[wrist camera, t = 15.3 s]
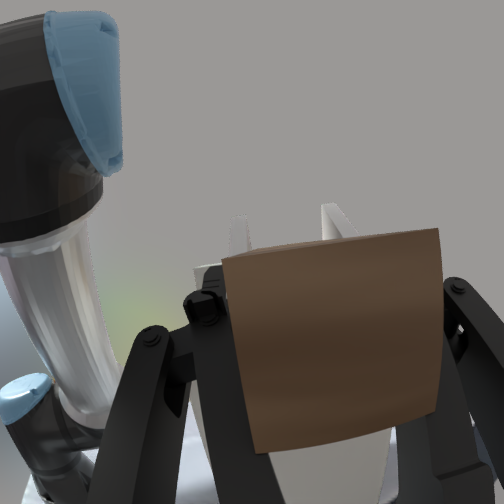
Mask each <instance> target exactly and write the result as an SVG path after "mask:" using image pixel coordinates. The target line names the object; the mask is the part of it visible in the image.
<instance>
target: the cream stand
mask: <svg viewBox="0 0 504 504" xmlns="http://www.w3.org/2000/svg"><path fill="white" fill-rule="evenodd" d="M189 397H190V401H191V405H192V408H193V412H194V415H195V419H196V422H197V426H198V429H199V432H200V436H201V439H202V442H203V445H204V448H205V452H206V455H207V458H208V461H209V464H210V467H211V462H210V457H209V452H208V447H207V441H206V436H205V430H204V425H203V419H202V413H201V406H200V400H199V393H198V386H197V380H194V381H192V384H191V390H190V396H189ZM391 430H392V427H391V428H388V429H385V430H382V431H378V432H375V433H371V434H368V435H364V436H360V437H356V438H352V439H348V440H344V441H339V442H335V443H330V444H325V445H320V446H314V447H308V448H302V449H295V450H288V451H280V452H271V453H269V456H270V459H271V462H272V465H273V468H274V471H275V474H276V477H277V480H278V483H279V486H280V488H281V491H282V494H283V497H284V500H285V503H286V504H378V501H379V497H380V492H381V488H382V483H383V479H384V474H385V469H386V463H387V457H388V451H389V445H390V438H391ZM211 469H212V467H211Z"/></svg>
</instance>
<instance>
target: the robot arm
mask: <svg viewBox="0 0 504 504" xmlns="http://www.w3.org/2000/svg"><path fill="white" fill-rule="evenodd" d="M122 153H123V152H122V121H121V97H120V59H119V33H118V27H117V24H116V22H115V20H114V19H113V18H112V17H111V16H110V15H108V14H107V13H105V12H101V11H72V12H58V13H57V12H55V11H48V12H46V13H45V14H41V15H35V16H31V17H27V18H22V19H18V20H15V21H11V22H8V23H4V24H1V25H0V273H1V276H2V278H3V281H4V283H5V286H6V288H7V291H8V293H9V296H10V298H11V300H12V303H13V305H14V307H15V309H16V311H17V313H18V315H19V318H20V320H21V322H22V324H23V326H24V328H25V330H26V332H27V334H28V336H29V338H30V339H31V341H32V343H33V345H34V347H35V348H36V350H37V352H38V354H39V355H40V357H41V359H42V360H43V362H44V364H45V365H46V367H47V369H48V370H49V372H50V373H51V375H52V376H53V378H54V379H55V381H56V382H57V383H56V384H52V380H51V379H50V378H49V376H48V375H47V374H44V373H43V374H41V373H34V374H29V375H26V376H23V377H20V378H18V379H15V380H14V381H12V382H10V383H8V384H7V385H5V386H4V387H3V388H2V389H1V390H0V416H1V418H2V422H3V424H4V425H5V427H6V429H7V430H8V432H9V434H10V436H11V438H12V440H13V442H14V443H15V445H16V447H17V449H18V450H19V452H20V454H21V456H22V457H23V459H24V460H25V462H26V464H27V465H28V467H29V468H30V470H31V474H32V477H33V480H34V483H35V486H36V489H37V492H38V494H39V496H40V497H41V498H42V500H43V501H44V502H45V504H175V498H176V490H177V481H178V473H179V465H180V458H181V450H182V443H183V436H184V429H185V422H186V415H187V409H188V402H189V396H190V390H191V384H192V381H194V380H197V386H198V393H199V400H200V406H201V413H202V419H203V425H204V430H205V436H206V441H207V447H208V452H209V457H210V462H211V467H212V472H213V476H214V481H215V485H216V490H217V494H218V498H219V503H220V504H286V503H285V500H284V497H283V494H282V491H281V488H280V486H279V483H278V480H277V477H276V474H275V471H274V468H273V465H272V462H271V459H270V456H269V453H260V454H256V453H255V448H254V444H253V439H252V434H251V429H250V424H249V419H248V414H247V408H246V403H245V398H244V393H243V387H242V382H241V376H240V371H239V365H238V360H237V354H236V348H235V342H234V336H233V330H232V324H231V318H230V312H229V306H228V300H227V293H226V287H225V280H224V273H223V267H222V265H217V266H210V267H209V268H208V269H207V271H206V272H205V273H204V277H203V283H202V289H199V290H197V291H194V292H192V293H191V294H189V295H188V296H187V297H186V299H185V300H184V303H183V307H184V310H185V313H186V315H187V318H188V320H189V324H188V325H186V326H185V327H182V328H180V329H177V330H174V331H171V332H168V330H167V328H165V327H163V326H159V325H154V326H149V327H147V328H145V329H143V330H142V331H141V332H140V333H139V334H138V335H137V336H136V338H135V340H134V343H133V346H132V348H131V351H130V354H129V356H128V359H127V362H126V365H125V368H124V367H123V366H122V365H120V364H119V363H117V362H116V360H115V357H114V353H113V350H112V347H111V343H110V340H109V336H108V333H107V329H106V325H105V321H104V318H103V313H102V309H101V306H100V300H99V296H98V291H97V286H96V281H95V276H94V271H93V265H92V259H91V253H90V246H89V239H88V232H87V223H86V219H87V218H88V217H89V216H90V215H91V214H92V213H93V212H94V211H95V210H96V208H97V207H98V206H99V204H100V202H101V201H102V198H103V176H104V177H109V176H111V175H112V174H113V173H115V172H118V171H119V170H121V168H122V166H123V154H122ZM321 208H322V209H321V210H322V239H323V240H331V239H340V238H349V237H358V236H360V235H359V233H358V232H357V231H356V230H355V228H354V227H353V225H352V224H351V223H350V221H349V220H348V219H347V217H346V216H345V215H344V214H343V212H342V211H341V210H340V209H339V208H338V206H337V205H336V204H335V203H328V204H321ZM248 251H252V249H251V243H250V237H249V231H248V225H247V219H246V215H239V216H233V217H231V228H230V242H229V257H231V256H234V255H238V254H241V253H245V252H248ZM443 298H444V321H443V347H442V360H441V371H440V380H439V388H438V395H437V402H436V408H435V412H432V413H430V414H427V415H425V416H422V417H420V418H417V419H414V420H412V421H409V422H406V423H403V424H400V425H397V426H395V428H396V439H397V454H398V477H399V493H398V497H397V499H396V502H395V504H495V494H494V482H493V475H492V471H491V468H490V467H489V466H488V464H486V463H483V462H481V461H480V460H479V458H478V455H477V448H476V443H475V437H474V432H473V427H472V422H471V418H470V414H471V416H472V418H473V420H474V422H475V424H476V426H477V429H478V431H479V433H480V435H481V437H482V440H483V442H484V444H485V446H486V449H487V451H488V453H489V456H490V458H491V461H492V463H493V466H494V468H495V471H496V474H497V476H498V479H499V481H500V483H501V485H502V487H503V489H504V323H503V322H502V321H501V319H500V318H499V317H498V316H497V315H496V313H495V312H494V311H493V310H492V308H491V307H490V306H489V305H488V304H487V303H486V301H485V300H484V299H483V298H482V297H481V296H480V295H479V294H478V292H477V291H476V290H475V289H474V288H473V287H472V286H471V285H470V284H469V283H468V282H467V281H466V280H464V279H461V278H458V277H449V278H447V279H445V281H444V283H443ZM459 325H461V326H462V328H463V329H464V331H463V333H462V332H461V331H460V330H459V329H458V328H459ZM469 412H470V414H469ZM93 449H99V451H98V454H97V458H96V462H95V464H94V463H93V462H92V461H91V460H90V459H89V458H88V457H87V456H85V455H84V454H83V453H82V452H81V451H85V450H93Z"/></svg>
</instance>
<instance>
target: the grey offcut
mask: <svg viewBox="0 0 504 504" xmlns="http://www.w3.org/2000/svg"><path fill="white" fill-rule="evenodd" d="M217 265H222V263H217V264H210V265H203V266H199V267H196V268H194V275H195V281H196V287H197V290H199V289H202V283H203V277H204V273H205V272H206V271H207V269H208V268H209V267H210V266H217Z"/></svg>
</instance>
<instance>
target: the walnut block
mask: <svg viewBox="0 0 504 504" xmlns="http://www.w3.org/2000/svg"><path fill="white" fill-rule="evenodd" d="M221 260H222V267H223V273H224V280H225V287H226V293H227V300H228V306H229V312H230V318H231V324H232V330H233V336H234V342H235V348H236V354H237V360H238V365H239V371H240V376H241V382H242V387H243V393H244V398H245V403H246V408H247V414H248V419H249V424H250V429H251V434H252V439H253V444H254V448H255V453H256V454H260V453H271V452H280V451H288V450H295V449H302V448H308V447H314V446H320V445H325V444H330V443H335V442H339V441H344V440H348V439H352V438H356V437H360V436H364V435H368V434H371V433H375V432H378V431H382V430H385V429H388V428H391V427H394V426H397V425H400V424H403V423H406V422H409V421H412V420H414V419H417V418H420V417H422V416H425V415H427V414H430V413H432V412H435V408H436V402H437V395H438V388H439V380H440V371H441V360H442V347H443V321H444V298H443V273H442V261H441V260H442V259H441V248H440V239H439V230H438V228H433V229H423V230H414V231H405V232H395V233H386V234H377V235H367V236H358V237H349V238H340V239H331V240H322V241H313V242H303V243H295V244H287V245H280V246H273V247H267V248H259V249H255V250H252V251H248V252H245V253H241V254H238V255H234V256H231V257H227V258H224V259H221Z"/></svg>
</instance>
